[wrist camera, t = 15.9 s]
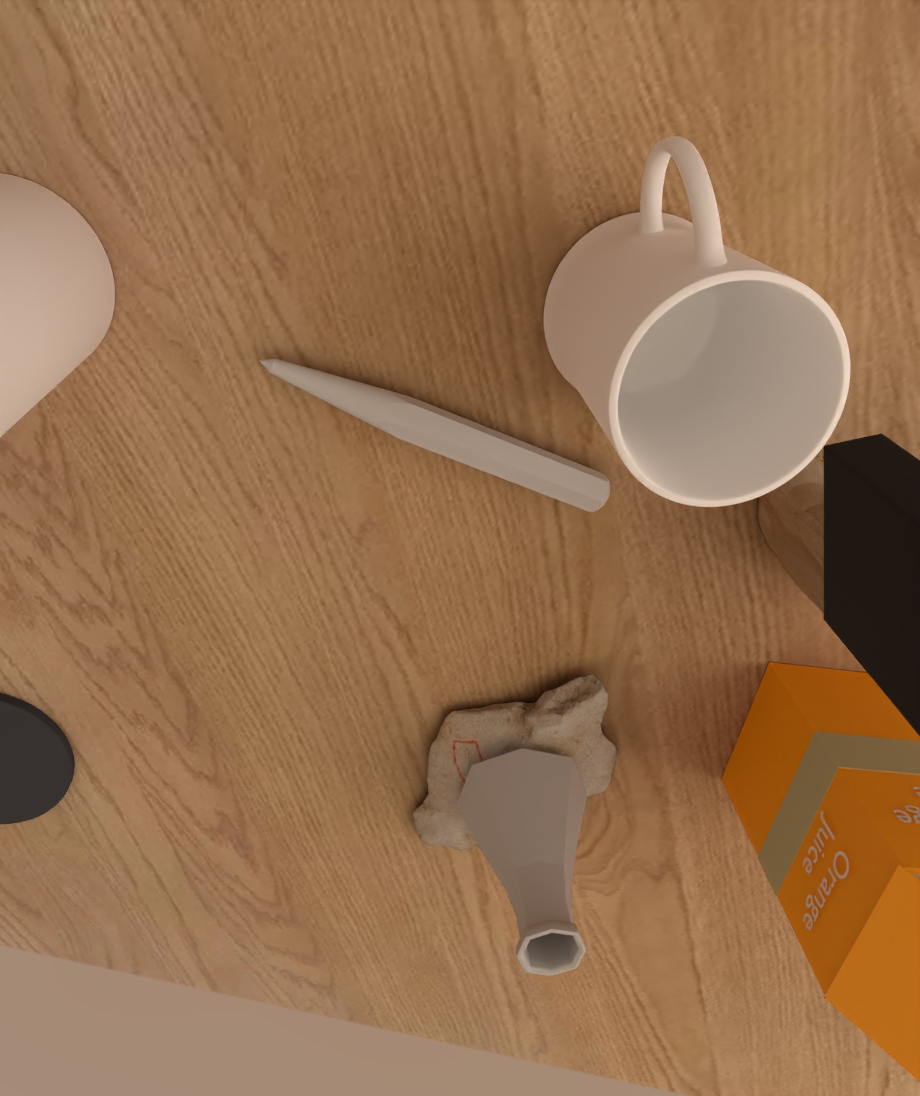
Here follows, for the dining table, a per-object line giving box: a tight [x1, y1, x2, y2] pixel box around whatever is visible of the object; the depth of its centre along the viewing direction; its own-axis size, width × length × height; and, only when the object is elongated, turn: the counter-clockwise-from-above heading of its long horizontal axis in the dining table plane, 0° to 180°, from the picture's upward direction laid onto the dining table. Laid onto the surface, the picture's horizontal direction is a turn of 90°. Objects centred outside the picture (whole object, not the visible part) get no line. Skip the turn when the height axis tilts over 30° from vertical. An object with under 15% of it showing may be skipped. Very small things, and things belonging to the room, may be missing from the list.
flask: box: [457, 748, 587, 976], centre depth 44 cm, size 7×7×10 cm
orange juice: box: [721, 662, 920, 1082], centre depth 43 cm, size 8×9×20 cm
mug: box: [543, 136, 850, 507], centre depth 33 cm, size 12×8×12 cm
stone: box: [413, 674, 618, 851], centre depth 50 cm, size 13×11×3 cm
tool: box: [260, 358, 610, 512], centre depth 40 cm, size 17×2×2 cm, turn 66°
